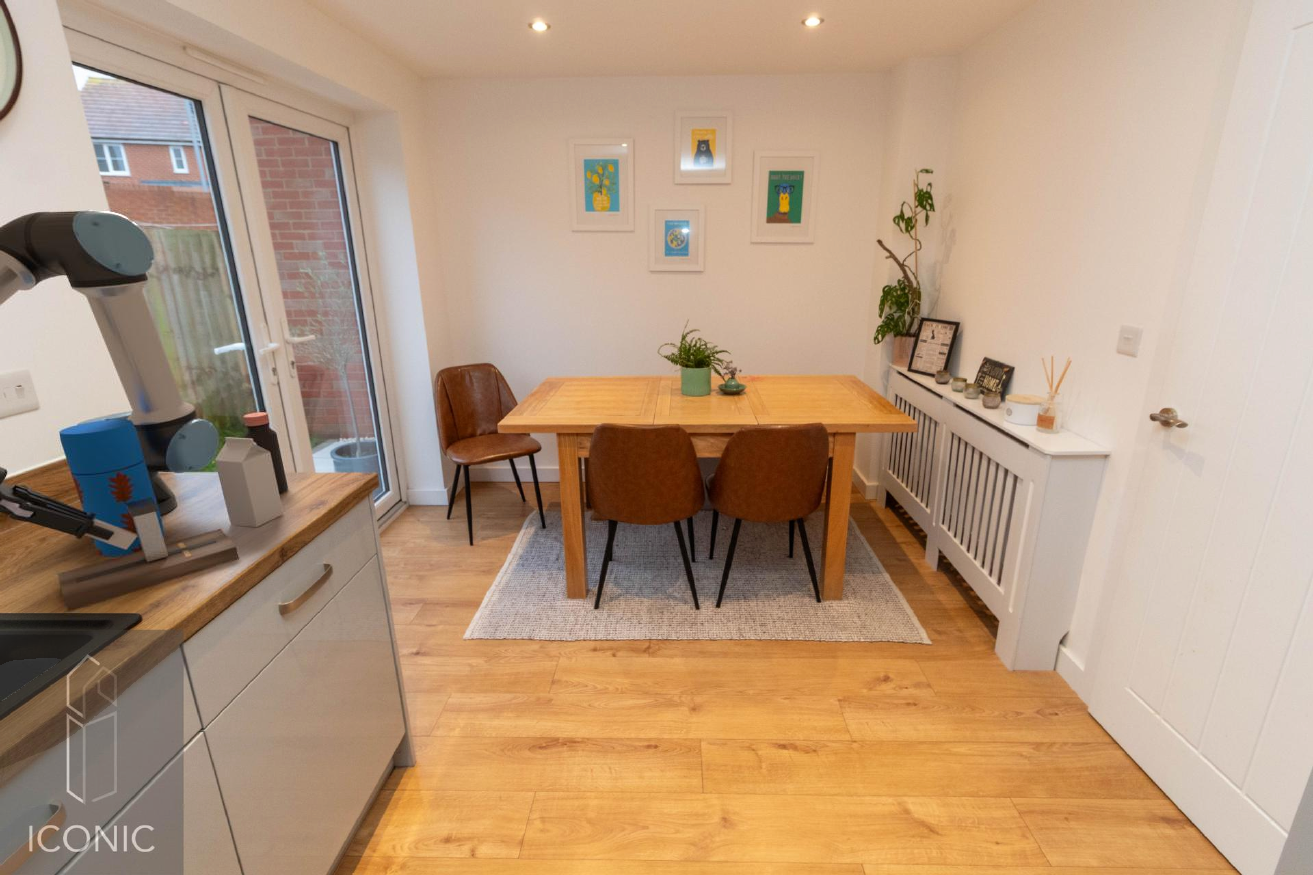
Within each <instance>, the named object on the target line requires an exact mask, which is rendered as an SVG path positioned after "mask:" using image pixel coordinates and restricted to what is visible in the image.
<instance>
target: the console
mask: <svg viewBox="0 0 1313 875" xmlns="http://www.w3.org/2000/svg"><path fill="white" fill-rule="evenodd" d="M165 546H166V550H167V553H168V556H166V557H163V558H159V559H156V560H152V561H149V562H147V560H146V558H145V556H144V554H143V551H142V550H141V551H138V552H134V553H131V554H126V555H120V556H115V557H113V558H109V559H106V560H103V561H100V562H95V563H92V564H89V565H84V566H81V567H77V568H74V569H70V570H67V571H66V570H65V571H63V572H60V573H57V576H58V579H59V586H60V589H61V595H62V600H63V602H64V604H65V607H66V610H67V612H71V611H75V610H78V609H81V608H84V607H87V606H91V605H95V604H97V603H100V602H103V601H106V600H111V599H112V598H117V597H119V596H123V595H126V594H129V593H131V592H132V593H133V592H135V591H139V590H141V589H145V588H147V587H151V586H155V585H157V584H161V583H164V582H167V581H171V580H173V579H174V580H175V579H177V578H180V577H183V576H187V575H189V574H193V573H196V572H199V571H204V570H205V569H209V568H212V567H216V566H219V565H222V564H225V563H229V562H232V561H234V560H237V559H240V557H239V553H238V549H237V546H236V545H235V543H233V541H232V540H231V539H230V538H229V537H228V536H227V534H226V533H225V532H224V531H223V530H222V529H221V528H218V529H215V530H210V531H206V532H203V533H200V534H196V535H193V536H189V537H186V538H182V539H179V540H174V541H171V542H167V543H165Z"/></svg>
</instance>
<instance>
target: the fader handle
mask: <svg viewBox="0 0 1313 875" xmlns="http://www.w3.org/2000/svg"><path fill="white" fill-rule="evenodd" d="M126 505H127V509H128V511H129V513H130V515H131V517H133V521H134V524H135V527H136V531H137V534H138V537H139V541H140V544H141V547H142V550H141V551H143V554H144V556H145V558H146V560H147V562H149V561H152V560H156V559H159V558H163V557H166V556H168V553H167V550H166V546H165V544H166V543H165V541H164V539H165V538H164V539H163V536H162V532H161V529H160V525H159V522H158V518H157V515H156V511H158V510H157V506H156V503H155V502H154V500H153V499H152V498H147V499H142V500H138V501H134V502H129V503H126Z"/></svg>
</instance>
